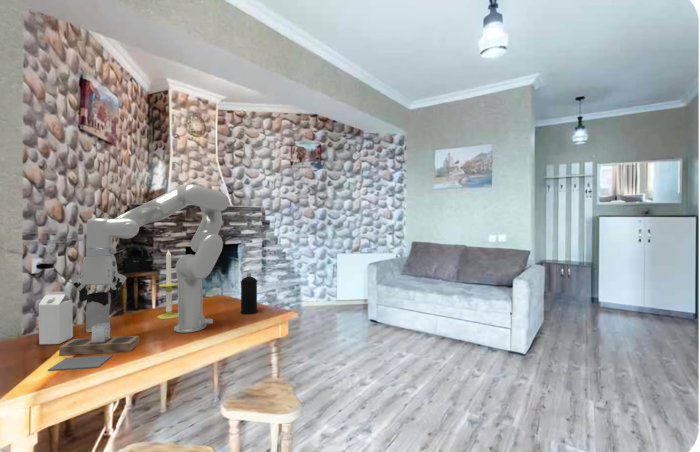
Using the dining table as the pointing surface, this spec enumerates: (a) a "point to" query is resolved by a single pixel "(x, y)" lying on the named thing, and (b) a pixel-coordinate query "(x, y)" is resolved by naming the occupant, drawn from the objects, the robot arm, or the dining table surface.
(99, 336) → the grey rectangular block
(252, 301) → the aerosol can
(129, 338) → the rail
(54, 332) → the milk carton
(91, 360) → the mat
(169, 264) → the candle
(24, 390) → the dining table surface
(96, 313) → the glass holder
